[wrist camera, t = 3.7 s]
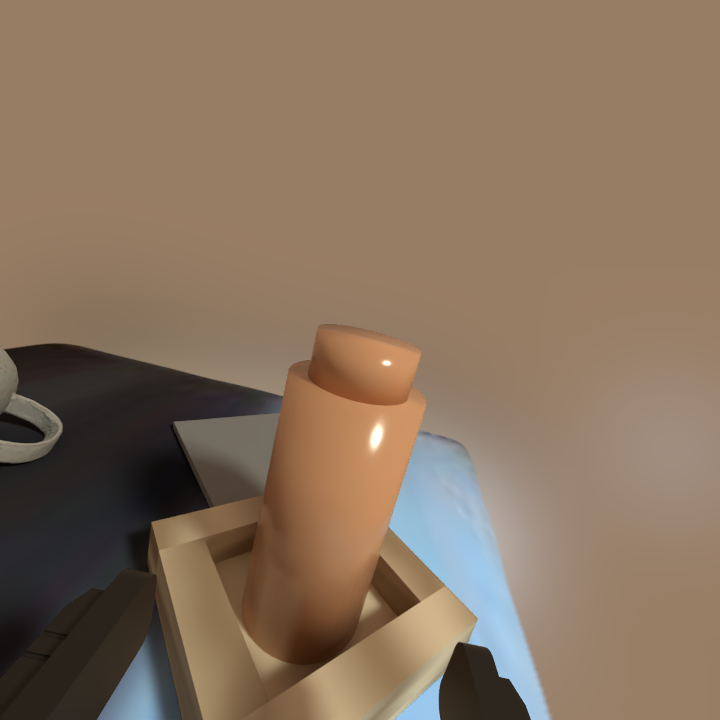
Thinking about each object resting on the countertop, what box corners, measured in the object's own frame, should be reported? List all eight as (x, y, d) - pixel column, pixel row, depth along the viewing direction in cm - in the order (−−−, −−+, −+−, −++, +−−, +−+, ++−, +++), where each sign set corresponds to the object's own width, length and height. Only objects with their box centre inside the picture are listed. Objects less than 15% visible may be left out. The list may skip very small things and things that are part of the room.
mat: (213, 516, 23) (215, 508, 22) (172, 428, 31) (173, 422, 31) (356, 479, 30) (358, 473, 30) (292, 416, 39) (293, 411, 39)
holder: (217, 881, 10) (230, 826, 9) (147, 561, 18) (151, 522, 18) (462, 656, 18) (477, 618, 17) (331, 505, 26) (339, 476, 26)
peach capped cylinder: (357, 678, 15) (456, 376, 12) (221, 648, 15) (281, 333, 12) (361, 551, 22) (424, 338, 19) (268, 529, 22) (314, 311, 18)
